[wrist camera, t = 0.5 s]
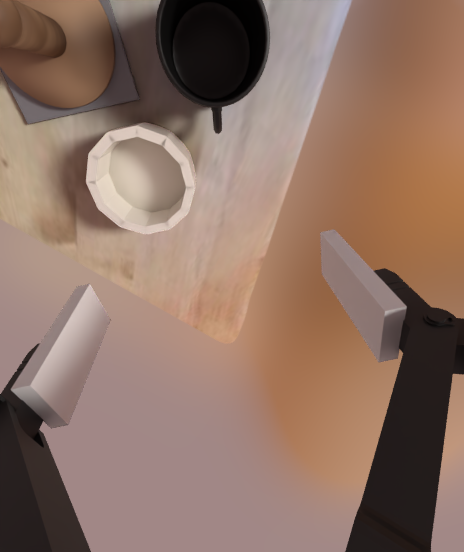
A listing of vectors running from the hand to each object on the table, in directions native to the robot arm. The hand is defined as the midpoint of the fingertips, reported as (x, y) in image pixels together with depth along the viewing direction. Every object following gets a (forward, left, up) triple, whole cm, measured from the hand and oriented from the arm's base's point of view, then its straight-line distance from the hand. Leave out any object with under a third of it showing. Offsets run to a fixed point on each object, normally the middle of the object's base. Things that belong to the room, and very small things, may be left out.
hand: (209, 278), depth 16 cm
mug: (-11, +3, -26) cm, 28 cm away
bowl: (-2, -7, -26) cm, 26 cm away
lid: (-16, -12, -25) cm, 32 cm away
